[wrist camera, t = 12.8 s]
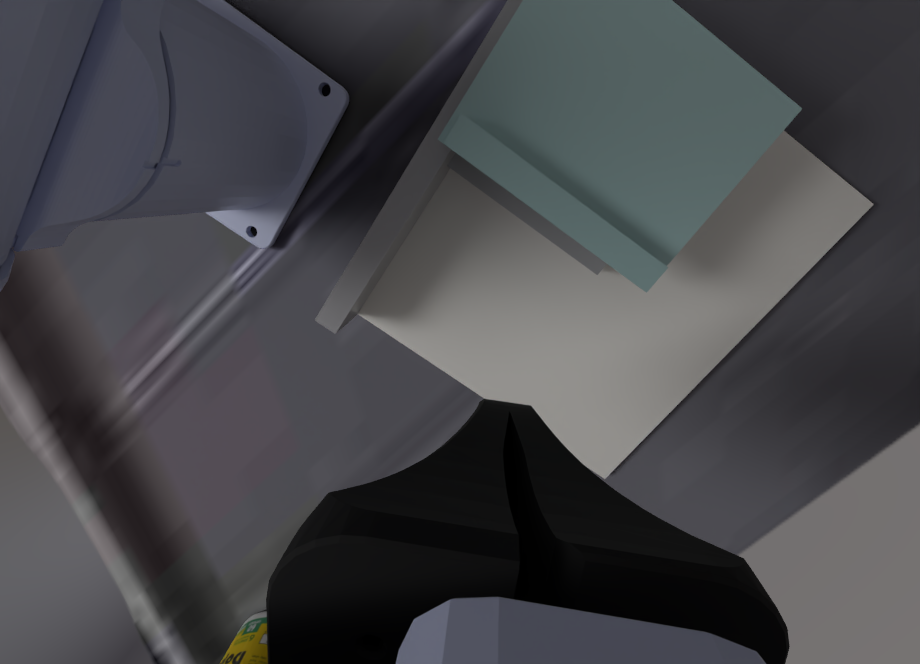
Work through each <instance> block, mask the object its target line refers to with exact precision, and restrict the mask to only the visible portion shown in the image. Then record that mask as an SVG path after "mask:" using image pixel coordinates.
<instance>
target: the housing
mask: <svg viewBox="0 0 920 664" xmlns="http://www.w3.org/2000/svg"><path fill="white" fill-rule="evenodd" d="M522 1H523V0H508V1H507V2H506V4H505V6H504V7H503V9H502V11H501V12H500V14H499V16H498V17H497V19H496V20H495V22H494V24H493V25H492V27H491V29H490V30H489V32H488V34H487V35H486V37H485V39H484V40H483V42H482V44H481V45H480V47H479V49H478V50H477V52H476V54H475V55H474V57H473V59H472V60H471V62H470V64H469V65H468V67H467V69H466V70H465V72H464V74H463V75H462V77H461V78H460V80H459V82H458V83H457V85H456V87H455V88H454V90H453V92H452V93H451V95H450V97H449V98H448V100H447V102H446V103H445V105H444V107H443V108H442V110H441V112H440V113H439V115H438V117H437V118H436V120H435V122H434V123H433V125H432V127H431V128H430V130H429V132H428V133H427V135H426V136H425V138H424V140H423V141H422V143H421V145H420V146H419V148H418V150H417V151H416V153H415V155H414V156H413V158H412V160H411V161H410V163H409V165H408V166H407V168H406V170H405V171H404V173H403V175H402V176H401V178H400V180H399V181H398V183H397V185H396V186H395V188H394V189H393V191H392V193H391V194H390V196H389V198H388V199H387V201H386V203H385V204H384V206H383V208H382V209H381V211H380V213H379V214H378V216H377V218H376V219H375V221H374V223H373V224H372V226H371V228H370V229H369V231H368V233H367V234H366V236H365V238H364V239H363V241H362V243H361V244H360V246H359V247H358V249H357V251H356V252H355V254H354V256H353V257H352V259H351V261H350V262H349V264H348V266H347V267H346V269H345V271H344V272H343V274H342V276H341V277H340V279H339V281H338V282H337V284H336V286H335V287H334V289H333V291H332V292H331V294H330V296H329V297H328V299H327V301H326V302H325V304H324V305H323V307H322V309H321V310H320V312H319V314H318V315H317V317H316V319H315V321H317V322H318V323H320V324H321V325H323V326H324V327H326V328H327V329H329V330H330V331H332V332H333V333H335V334H336V333H337V332H338V331H339V330H340V329H341V328H343V327H344V326H345V325H346V324H347V323H348V322H349V321H350V320H352V319H353V318H354V317H355V316H356V315H357V314H359V315H360V316H362V317H363V318H365V319H366V320H368V321H369V322H371V323H372V324H374V325H375V326H377V327H378V328H380V329H381V330H383V331H384V332H386V333H387V334H389V335H390V336H392V337H393V338H395V339H396V340H398V341H399V342H401V343H402V344H404V345H405V346H407V347H408V348H410V349H411V350H413V351H414V352H416V353H417V354H419V355H420V356H422V357H423V358H425V359H426V360H428V361H429V362H431V363H432V364H434V365H435V366H437V367H438V368H440V369H441V370H443V371H444V372H446V373H447V374H449V375H450V376H452V377H453V378H455V379H456V380H457V381H459V382H460V383H462V384H463V385H465V386H466V387H468V388H469V389H471V390H472V391H474V392H475V393H477V394H478V395H480V396H481V397H483V398H484V399H490V400H497V401H503V402H510V403H517V404H524V405H531V406H532V407H533V409H534V410H535V411H536V412H537V414H538V415H539V416H540V418H541V419H542V420H543V421H544V423H545V424H546V425H547V426H548V428H549V429H550V430H551V431H552V432H553V433H554V435H555V436H556V437H557V438H558V439H559V440H560V441H561V443H562V444H563V445H564V446H565V447H566V448H567V449H568V450H569V451H570V452H571V453H572V454H573V455H574V456H575V457H576V458H577V459H578V460H579V461H580V462H581V463H582V464H583V465H585V466H586V467H588V468H589V469H591V470H592V471H594V472H595V473H597V474H598V475H600V476H601V477H603V478H604V479H605V478H606V477H607V476H608V475H609V474H610V473H611V472H612V471H613V470H614V469H615V468H616V467H617V466H618V465H619V464H620V463H621V462H622V461H623V460H624V459H625V458H626V457H627V456H628V455H629V454H630V453H631V452H632V451H633V450H634V449H635V448H636V447H637V446H638V445H639V444H640V443H641V442H642V441H643V440H644V439H645V438H646V437H647V436H648V435H649V434H650V432H651V431H652V430H653V429H654V428H655V427H656V426H657V425H658V424H659V423H660V422H661V421H662V420H663V419H664V418H665V417H666V416H667V415H668V414H669V413H670V412H671V411H672V410H673V409H674V408H675V407H676V406H677V405H678V404H679V403H680V402H681V401H682V400H683V399H684V398H685V397H686V396H687V395H688V394H689V393H690V392H691V391H692V390H693V389H694V388H695V387H696V385H697V384H698V383H699V382H700V381H701V380H702V379H703V378H704V377H705V376H706V375H707V374H708V373H709V372H710V371H711V370H712V369H713V368H714V367H715V366H716V365H717V364H718V363H719V362H720V361H721V360H722V359H723V358H724V357H725V356H726V355H727V354H728V353H729V352H730V351H731V350H732V349H733V348H734V347H735V346H736V345H737V344H738V343H739V342H740V341H741V340H742V339H743V337H744V336H745V335H746V334H747V333H748V332H749V331H750V330H751V329H752V328H753V327H754V326H755V325H756V324H757V323H758V322H759V321H760V320H761V319H762V318H763V317H764V316H765V315H766V314H767V313H768V312H769V311H770V310H771V309H772V308H773V307H774V306H775V305H776V304H777V303H778V302H779V301H780V300H781V299H782V298H783V297H784V296H785V295H786V294H787V293H788V292H789V291H790V289H791V288H792V287H793V286H794V285H795V284H796V283H797V282H798V281H799V280H800V279H801V278H802V277H803V276H804V275H805V274H806V273H807V272H808V271H809V270H810V269H811V268H812V267H813V266H814V265H815V264H816V263H817V262H818V261H819V260H820V259H821V258H822V257H823V256H824V255H825V254H826V253H827V252H828V251H829V250H830V249H831V248H832V247H833V246H834V245H835V244H836V242H837V241H838V240H839V239H840V238H841V237H842V236H843V235H844V234H845V233H846V232H847V231H848V230H849V229H850V228H851V227H852V226H853V225H854V224H855V223H856V222H857V221H858V220H859V219H860V218H861V217H862V216H863V215H864V214H865V213H866V212H867V211H868V210H869V209H870V208H871V207H872V206H873V205H874V204H873V203H872V202H870V201H869V200H868V199H867V198H865V197H864V196H863V195H862V194H861V193H859V192H858V191H857V190H856V189H855V188H853V187H852V186H851V185H850V184H848V183H847V182H846V181H845V180H844V179H842V178H841V177H840V176H839V175H837V174H836V173H835V172H834V171H833V170H831V169H830V168H829V167H828V166H826V165H825V164H824V163H823V162H822V161H820V160H819V159H818V158H817V157H815V156H814V155H813V154H812V153H811V152H809V151H808V150H807V149H806V148H804V147H803V146H802V145H801V144H800V143H798V142H797V141H796V140H795V139H794V138H792V137H791V136H790V135H789V134H787V133H786V132H785V131H783V132H782V133H781V134H780V135H779V136H778V138H777V139H776V140H775V141H774V142H773V143H772V145H771V146H770V147H769V148H768V149H767V150H766V152H765V153H764V154H763V155H762V156H761V157H760V159H759V160H758V161H757V162H756V163H755V164H754V165H753V167H752V168H751V169H750V170H749V171H748V172H747V174H746V175H745V176H744V177H743V178H742V179H741V181H740V182H739V183H738V184H737V185H736V186H735V188H734V189H733V190H732V191H731V192H730V193H729V195H728V196H727V197H726V198H725V199H724V200H723V201H722V203H721V204H720V205H719V206H718V207H717V208H716V210H715V211H714V212H713V213H712V214H711V215H710V217H709V218H708V219H707V220H706V221H705V222H704V224H703V225H702V226H701V227H700V228H699V229H698V231H697V232H696V233H695V234H694V235H693V236H692V237H691V239H690V240H689V241H688V242H687V243H686V244H685V246H684V247H683V248H682V249H681V250H680V251H679V253H678V254H677V255H676V256H675V257H674V258H673V260H672V261H671V262H670V263H669V264H668V265H667V267H668V269H667V270H666V271H665V272H664V273H663V274H662V276H661V277H660V278H659V279H658V280H657V281H656V283H655V284H654V285H653V286H652V287H651V288H650V289H649V291H648V292H647V293H646V292H645V291H643V290H642V289H640V288H639V287H638V286H636V285H635V284H634V283H632V282H631V281H630V280H628V279H627V278H625V277H624V276H623V275H621V274H620V273H619V272H617V271H616V270H615V269H613V268H612V267H610V266H609V265H608V264H606V263H605V262H604V261H602V260H601V259H600V258H598V257H597V256H595V255H594V254H593V253H591V252H590V251H589V250H587V249H586V248H585V247H583V246H582V245H580V244H579V243H578V242H576V241H575V240H574V239H572V238H571V237H570V236H568V235H567V234H566V233H564V232H563V231H561V230H560V229H559V228H557V227H556V226H555V225H553V224H552V223H551V222H549V221H548V220H546V219H545V218H544V217H542V216H541V215H540V214H538V213H537V212H536V211H534V210H533V209H531V208H530V207H529V206H527V205H526V204H525V203H523V202H522V201H521V200H519V199H518V198H516V197H515V196H514V195H512V194H511V193H510V192H508V191H507V190H506V189H504V188H503V187H501V186H500V185H499V184H497V183H496V182H495V181H493V180H492V179H491V178H489V177H488V176H487V175H485V174H484V173H482V172H481V171H480V170H478V169H477V168H476V167H474V166H473V165H472V164H470V163H469V162H467V161H466V160H465V159H463V158H462V157H461V156H459V155H458V154H457V153H455V152H454V151H452V150H451V149H450V148H448V147H447V146H446V145H444V144H443V143H442V142H440V141H439V140H438V138H439V136H440V135H441V133H442V131H443V130H444V128H445V126H446V125H447V123H448V121H449V120H450V118H451V117H452V115H453V113H454V112H455V110H456V108H457V107H458V105H459V104H460V102H461V100H462V99H463V97H464V95H465V94H466V92H467V91H468V89H469V87H470V86H471V84H472V82H473V81H474V79H475V77H476V76H477V74H478V73H479V71H480V69H481V68H482V66H483V64H484V63H485V61H486V60H487V58H488V56H489V55H490V53H491V51H492V50H493V48H494V47H495V45H496V43H497V42H498V40H499V38H500V37H501V35H502V33H503V32H504V30H505V29H506V27H507V25H508V24H509V22H510V20H511V19H512V17H513V16H514V14H515V12H516V11H517V9H518V7H519V6H520V4H521V3H522Z"/></svg>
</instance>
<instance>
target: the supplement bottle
mask: <svg viewBox="0 0 920 664" xmlns="http://www.w3.org/2000/svg"><path fill="white" fill-rule="evenodd" d="M220 664H268V652H267V611H263V612H259V613H257V614H255V615H253V616H251V617H250V618H249V619H248V620H247V621H246V622H245V623H244V624H243V626H242V627H241V629H240V630H239V632H238V633H237V635H236V637H235V639H234V640H233V642H232V644H231V646H230V647H229V649H228V651H227V652H226V654H225V656H224V657H223V659H222V661H221V662H220Z"/></svg>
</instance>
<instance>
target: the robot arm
mask: <svg viewBox="0 0 920 664" xmlns="http://www.w3.org/2000/svg"><path fill="white" fill-rule="evenodd" d="M327 84H329V86H330V88H331V92H330V94H329V95H328V96H326V97H324V96H323V94H322V87H323V86H324V85H327ZM348 104H349V95H348V92H347V91H346V90H345V89H344V87H342V86H341V85H339V84H338V83H337V82H335V81H334V80H333V79H331V78H330V77H328V76H327V75H326V74H324V73H323V72H322V71H320V70H319V69H318V68H316V67H315V66H313V65H312V64H311V63H309V62H308V61H307V60H305V59H304V58H302V57H301V56H300V55H298V54H297V53H296V52H294V51H293V50H291V49H290V48H289V47H287V46H286V45H285V44H283V43H282V42H281V41H279V40H278V39H276V38H275V37H274V36H272V35H271V34H270V33H268V32H267V31H265V30H264V29H263V28H261V27H260V26H259V25H257V24H256V23H254V22H253V21H252V20H250V19H249V18H248V17H246V16H245V15H243V14H242V13H241V12H239V11H238V10H237V9H235V8H234V7H233V6H231V5H230V4H228V3H227V2H226V1H224V0H0V291H1V290H2V289H3V287H4V285H5V284H6V282H7V280H8V279H9V275H10V272H11V268H12V264H13V261H14V257H15V254H14V252H13V250H14V251H17V252H19V251H27V250H34V249H42V248H49V247H57V246H62V245H63V243H64V242H65V240H66V238H67V236H68V235H69V234H70V233H71V232H72V231H73V230H74V229H75V228H76V227H78V226H79V225H81V224H84V223H87V222H93V221H105V220H117V219H129V218H141V217H153V216H165V215H177V214H189V213H202V212H205V213H207V214H208V215H210V216H211V217H213V218H214V219H216V220H217V221H219V222H220V223H222V224H223V225H225V226H226V227H228V228H229V229H231V230H232V231H234V232H235V233H237V234H238V235H240V236H241V237H243V238H244V239H246V240H247V241H249V242H250V243H252V244H253V245H255V246H256V247H258V248H260V249H266V248H269V247H272V246H273V244H274V243H275V241H276V239H277V237H278V235H279V234H280V232H281V230H282V228H283V226H284V224H285V222H286V221H287V219H288V217H289V215H290V213H291V211H292V209H293V207H294V206H295V204H296V202H297V200H298V198H299V196H300V194H301V192H302V191H303V189H304V187H305V185H306V183H307V181H308V179H309V178H310V176H311V174H312V172H313V170H314V168H315V166H316V164H317V163H318V161H319V159H320V157H321V155H322V153H323V151H324V149H325V148H326V146H327V144H328V142H329V140H330V138H331V136H332V135H333V133H334V131H335V129H336V127H337V125H338V123H339V121H340V120H341V118H342V116H343V114H344V112H345V110H346V108H347V106H348ZM252 226H253V227H255V228H256V230H257V235H256V236H253V235H252V234H251V231H250V230H251V227H252ZM12 247H14V249H13V250H12ZM266 608H267V652H268V664H785V662H786V658H787V655H788V651H789V639H788V630H787V627H786V624H785V622H784V621H783V619H782V617H781V615H780V613H779V611H778V609H777V607H776V606H775V604H774V603H773V601H772V600H771V598H770V597H769V595H768V594H767V592H766V591H765V589H764V588H763V586H762V584H761V583H760V582H759V580H758V578H757V577H756V576H755V574H754V572H753V571H752V570H751V568H750V567H749V565H748V564H747V562H746V561H745V560H744V558H741V557H739V556H737V555H735V554H732V553H730V552H728V551H726V550H723V549H721V548H719V547H717V546H714V545H712V544H710V543H708V542H705V541H703V540H701V539H699V538H696V537H694V536H692V535H690V534H688V533H686V532H684V531H682V530H680V529H678V528H676V527H674V526H673V525H671V524H669V523H667V522H665V521H663V520H661V519H659V518H658V517H656V516H654V515H653V514H651V513H649V512H647V511H646V510H644V509H642V508H641V507H639V506H638V505H636V504H635V503H633V502H632V501H630V500H629V499H627V498H626V497H624V496H623V495H621V494H620V493H618V492H617V491H615V490H614V489H613V488H611V487H610V486H609V485H607V484H606V483H605V482H604V481H602V480H601V479H600V478H599V477H597V476H596V475H595V474H594V473H592V472H591V471H590V470H589V469H588V468H587V467H586V466H584V465H583V464H582V463H581V462H580V461H579V460H578V459H577V458H576V457H575V456H574V455H573V454H572V453H571V452H570V451H569V450H568V449H567V448H566V447H565V446H564V445H563V444H562V443H561V441H560V440H559V439H558V438H557V437H556V436H555V435H554V433H553V432H552V431H551V430H550V429H549V428H548V426H547V425H546V424H545V423H544V421H543V420H542V419H541V418H540V416H539V415H538V414H537V412H536V411H535V410H534V409H533V407H532V406H531V405H524V404H517V403H510V402H503V401H497V400H490V399H483V400H482V401H480V402H479V405H478V407H477V409H476V410H475V412H474V413H473V414H472V416H471V417H470V418H469V420H468V421H467V422H466V423H465V424H464V425H463V426H462V428H461V429H460V430H459V431H458V432H457V433H456V434H455V435H453V436H452V437H451V438H450V439H449V440H448V441H447V442H446V443H445V444H444V445H442V446H441V447H440V448H439V449H437V450H436V451H435V452H433V453H432V454H431V455H429V456H428V457H426V458H425V459H423V460H421V461H420V462H418V463H416V464H414V465H412V466H410V467H408V468H406V469H404V470H402V471H400V472H398V473H395V474H393V475H390V476H388V477H385V478H382V479H379V480H377V481H374V482H370V483H367V484H364V485H359V486H355V487H351V488H347V489H343V490H339V491H334V492H329V493H328V494H327V495H326V496H325V498H324V499H323V500H322V501H321V502H320V504H319V505H318V506H317V507H316V509H315V510H314V511H313V512H312V513H311V514H310V516H309V517H308V518H307V520H306V521H305V522H304V523H303V525H302V526H301V527H300V529H299V530H298V532H297V533H296V535H295V536H294V538H293V539H292V541H291V543H290V544H289V546H288V548H287V550H286V551H285V553H284V555H283V556H282V558H281V560H280V561H279V563H278V565H277V567H276V569H275V571H274V572H273V574H272V576H271V578H270V580H269V585H268V591H267V598H266Z"/></svg>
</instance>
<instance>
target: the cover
mask: <svg viewBox="0 0 920 664" xmlns="http://www.w3.org/2000/svg"><path fill="white" fill-rule="evenodd" d="M801 110H802V108H801V107H800V106H799V105H797V104H796V103H795V102H794V101H793V100H791V99H790V98H789V97H788V96H787V95H785V94H784V93H783V92H782V91H781V90H779V89H778V88H777V87H776V86H775V85H773V84H772V83H771V82H770V81H769V80H767V79H766V78H765V77H764V76H763V75H761V74H760V73H759V72H758V71H757V70H755V69H754V68H753V67H752V66H751V65H749V64H748V63H747V62H746V61H745V60H743V59H742V58H741V57H740V56H739V55H737V54H736V53H735V52H734V51H733V50H731V49H730V48H729V47H728V46H727V45H725V44H724V43H723V42H722V41H721V40H719V39H718V38H717V37H716V36H715V35H713V34H712V33H711V32H710V31H709V30H707V29H706V28H705V27H704V26H703V25H701V24H700V23H699V22H698V21H697V20H695V19H694V18H693V17H692V16H691V15H689V14H688V13H687V12H686V11H684V10H683V9H682V8H681V7H680V6H678V5H677V4H676V3H675V2H674V1H672V0H523V1H522V3H521V4H520V6H519V7H518V9H517V11H516V12H515V14H514V16H513V17H512V19H511V20H510V22H509V24H508V25H507V27H506V29H505V30H504V32H503V33H502V35H501V37H500V38H499V40H498V42H497V43H496V45H495V47H494V48H493V50H492V51H491V53H490V55H489V56H488V58H487V60H486V61H485V63H484V64H483V66H482V68H481V69H480V71H479V73H478V74H477V76H476V77H475V79H474V81H473V82H472V84H471V86H470V87H469V89H468V91H467V92H466V94H465V95H464V97H463V99H462V100H461V102H460V104H459V105H458V107H457V108H456V110H455V112H454V113H453V115H452V117H451V118H450V120H449V121H448V123H447V125H446V126H445V128H444V130H443V131H442V133H441V135H440V136H439V138H438V140H439V141H440V142H442V143H443V144H444V145H446V146H447V147H448V148H450V149H451V150H452V151H454V152H455V153H457V154H458V155H459V156H461V157H462V158H463V159H465V160H466V161H467V162H469V163H470V164H472V165H473V166H474V167H476V168H477V169H478V170H480V171H481V172H482V173H484V174H485V175H487V176H488V177H489V178H491V179H492V180H493V181H495V182H496V183H497V184H499V185H500V186H501V187H503V188H504V189H506V190H507V191H508V192H510V193H511V194H512V195H514V196H515V197H516V198H518V199H519V200H521V201H522V202H523V203H525V204H526V205H527V206H529V207H530V208H531V209H533V210H534V211H536V212H537V213H538V214H540V215H541V216H542V217H544V218H545V219H546V220H548V221H549V222H551V223H552V224H553V225H555V226H556V227H557V228H559V229H560V230H561V231H563V232H564V233H566V234H567V235H568V236H570V237H571V238H572V239H574V240H575V241H576V242H578V243H579V244H580V245H582V246H583V247H585V248H586V249H587V250H589V251H590V252H591V253H593V254H594V255H595V256H597V257H598V258H600V259H601V260H602V261H604V262H605V263H606V264H608V265H609V266H610V267H612V268H613V269H615V270H616V271H617V272H619V273H620V274H621V275H623V276H624V277H625V278H627V279H628V280H630V281H631V282H632V283H634V284H635V285H636V286H638V287H639V288H640V289H642V290H643V291H645V292H646V293H647V292H648V291H649V289H650V288H651V287H652V286H653V285H654V284H655V283H656V281H657V280H658V279H659V278H660V277H661V276H662V274H663V273H664V272H665V271H666V270H667V269H668V267H667V265H668V264H669V263H670V262H671V261H672V260H673V258H674V257H675V256H676V255H677V254H678V253H679V251H680V250H681V249H682V248H683V247H684V246H685V244H686V243H687V242H688V241H689V240H690V239H691V237H692V236H693V235H694V234H695V233H696V232H697V231H698V229H699V228H700V227H701V226H702V225H703V224H704V222H705V221H706V220H707V219H708V218H709V217H710V215H711V214H712V213H713V212H714V211H715V210H716V208H717V207H718V206H719V205H720V204H721V203H722V201H723V200H724V199H725V198H726V197H727V196H728V195H729V193H730V192H731V191H732V190H733V189H734V188H735V186H736V185H737V184H738V183H739V182H740V181H741V179H742V178H743V177H744V176H745V175H746V174H747V172H748V171H749V170H750V169H751V168H752V167H753V165H754V164H755V163H756V162H757V161H758V160H759V159H760V157H761V156H762V155H763V154H764V153H765V152H766V150H767V149H768V148H769V147H770V146H771V145H772V143H773V142H774V141H775V140H776V139H777V138H778V136H779V135H780V134H781V133H782V132H783V131H784V129H785V128H786V127H787V126H788V125H789V124H790V123H791V121H792V120H793V119H794V118H795V117H796V116H797V114H798V113H799V112H800V111H801Z"/></svg>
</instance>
